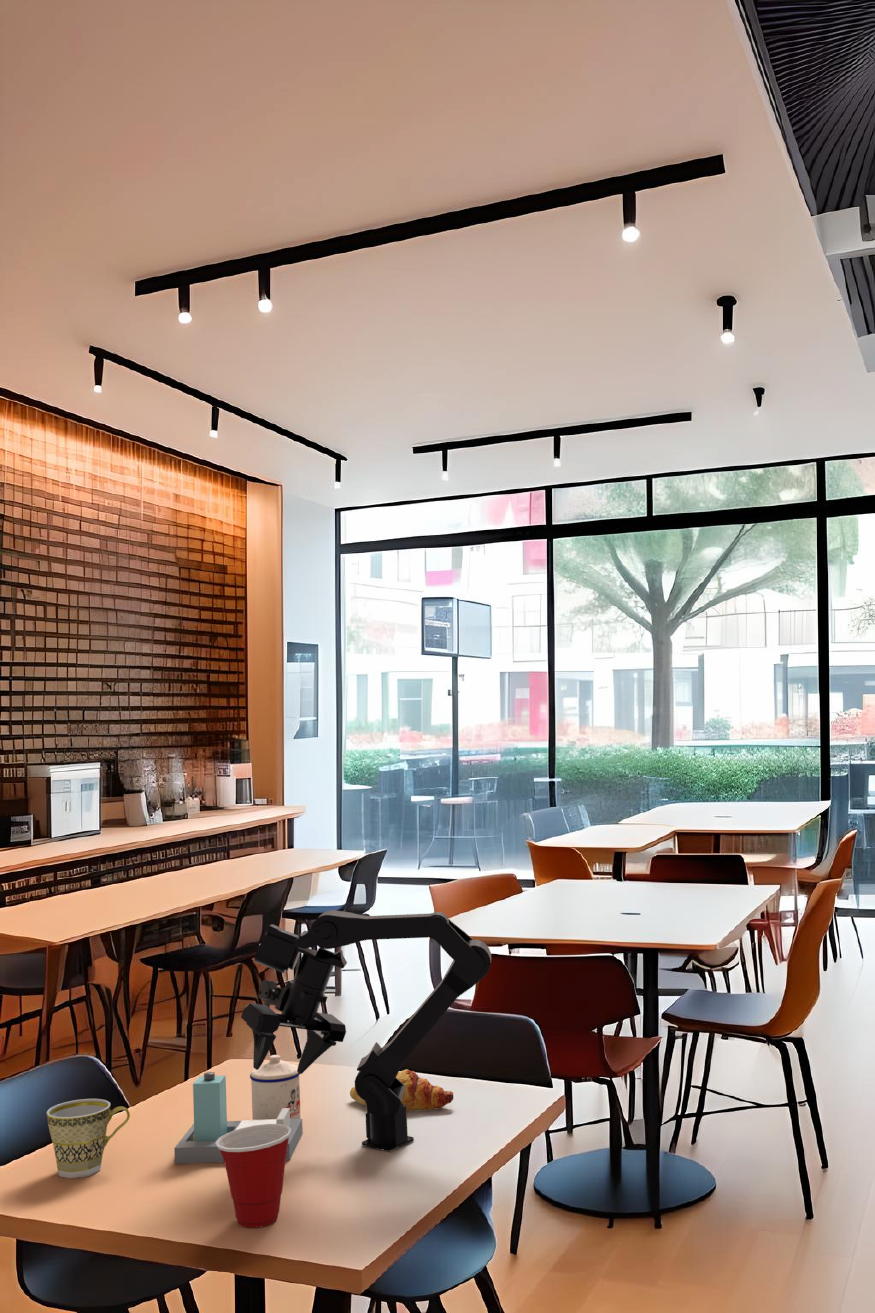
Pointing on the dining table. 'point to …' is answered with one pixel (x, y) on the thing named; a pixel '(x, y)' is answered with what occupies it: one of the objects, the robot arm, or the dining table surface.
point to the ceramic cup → (81, 1135)
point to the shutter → (269, 1120)
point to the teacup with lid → (275, 1089)
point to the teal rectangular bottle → (209, 1107)
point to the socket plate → (209, 1151)
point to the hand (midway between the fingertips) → (277, 1071)
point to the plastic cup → (255, 1171)
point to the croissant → (416, 1093)
